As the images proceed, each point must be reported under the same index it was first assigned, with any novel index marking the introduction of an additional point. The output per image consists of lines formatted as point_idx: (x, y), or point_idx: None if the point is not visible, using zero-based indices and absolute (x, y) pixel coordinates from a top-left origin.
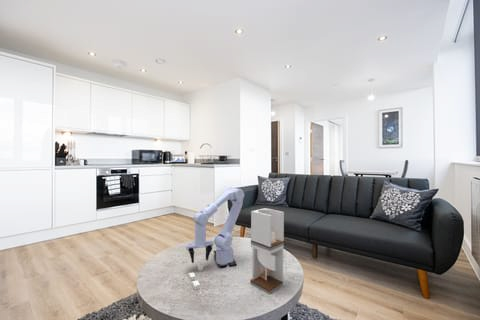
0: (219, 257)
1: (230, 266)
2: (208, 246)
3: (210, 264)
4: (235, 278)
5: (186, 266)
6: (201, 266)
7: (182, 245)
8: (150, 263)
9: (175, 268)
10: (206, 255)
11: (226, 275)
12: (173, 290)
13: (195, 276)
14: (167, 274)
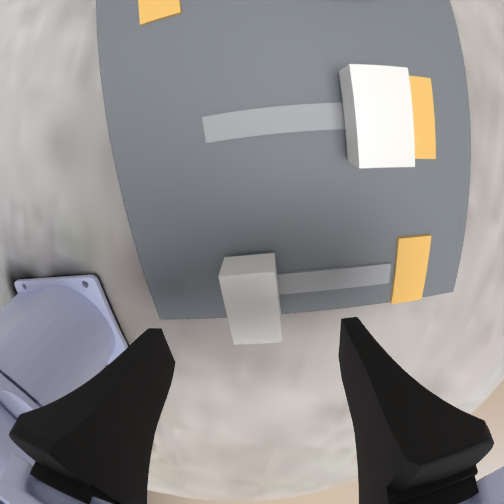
0: (53, 343)
1: (31, 273)
2: (70, 487)
3: None
4: (9, 102)
5: None
6: (237, 281)
7: (298, 492)
8: (479, 402)
9: (417, 356)
10: (149, 388)
11: (46, 149)
12: (492, 63)
13: (348, 64)
14: (482, 295)
